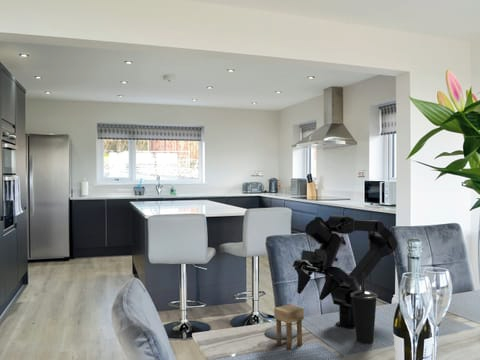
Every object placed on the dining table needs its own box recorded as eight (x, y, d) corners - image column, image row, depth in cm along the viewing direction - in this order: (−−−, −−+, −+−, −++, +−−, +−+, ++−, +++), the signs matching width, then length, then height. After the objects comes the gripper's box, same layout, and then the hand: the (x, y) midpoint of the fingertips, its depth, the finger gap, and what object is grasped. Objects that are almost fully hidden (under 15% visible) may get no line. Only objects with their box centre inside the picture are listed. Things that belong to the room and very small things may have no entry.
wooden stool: (289, 339, 127) (289, 304, 127) (304, 345, 122) (303, 308, 122) (274, 344, 123) (274, 308, 123) (289, 350, 118) (288, 312, 118)
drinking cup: (348, 343, 123) (347, 274, 123) (354, 334, 130) (353, 269, 130) (375, 347, 119) (374, 276, 119) (380, 338, 126) (379, 271, 126)
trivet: (277, 325, 139) (277, 324, 139) (303, 332, 132) (303, 330, 132) (258, 334, 131) (258, 332, 131) (285, 341, 124) (285, 339, 124)
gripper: (292, 235, 137) (272, 279, 132) (336, 241, 122) (316, 291, 117) (312, 251, 142) (293, 294, 137) (357, 259, 127) (339, 307, 122)
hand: (309, 296), depth 128 cm, fingers open, 9 cm apart
